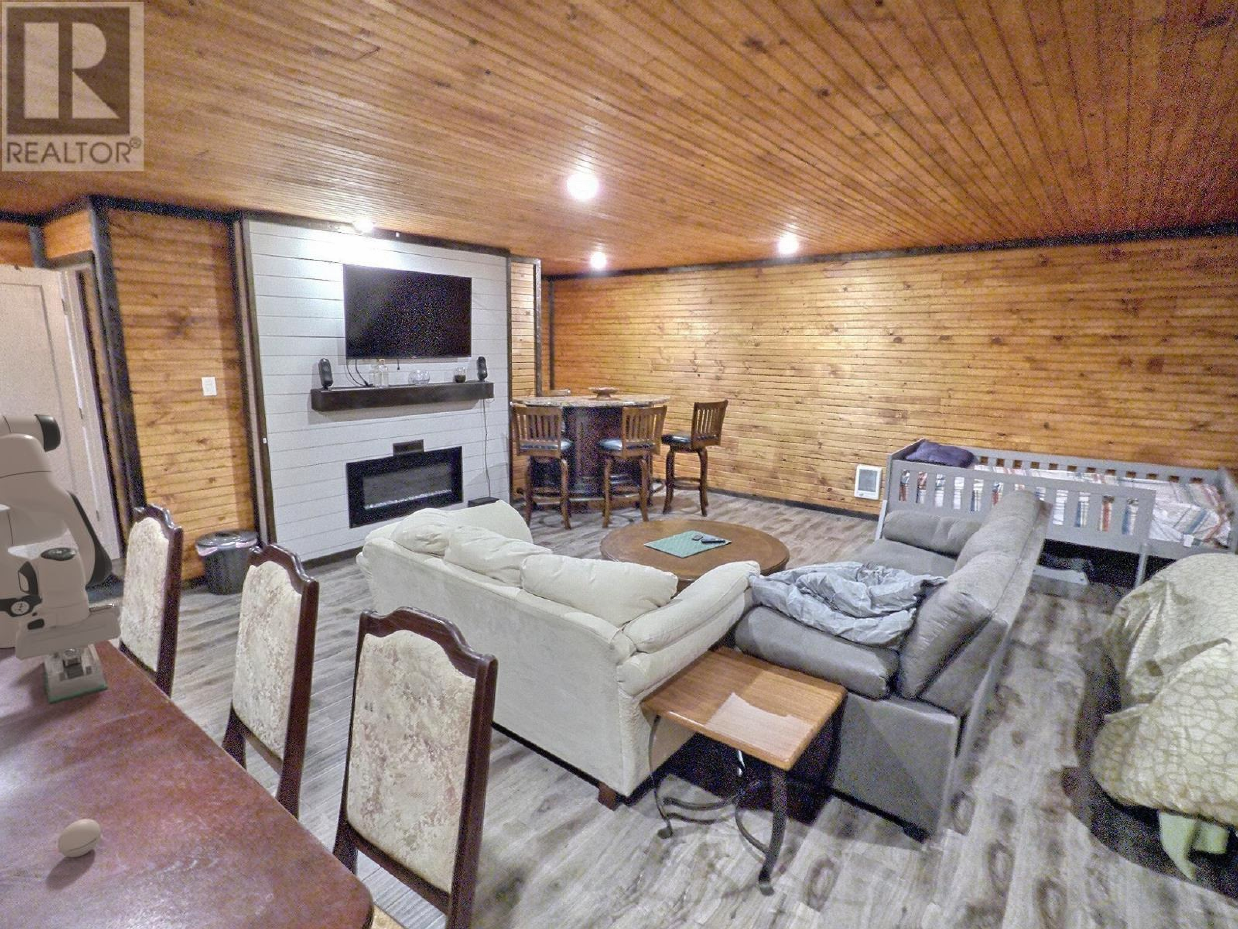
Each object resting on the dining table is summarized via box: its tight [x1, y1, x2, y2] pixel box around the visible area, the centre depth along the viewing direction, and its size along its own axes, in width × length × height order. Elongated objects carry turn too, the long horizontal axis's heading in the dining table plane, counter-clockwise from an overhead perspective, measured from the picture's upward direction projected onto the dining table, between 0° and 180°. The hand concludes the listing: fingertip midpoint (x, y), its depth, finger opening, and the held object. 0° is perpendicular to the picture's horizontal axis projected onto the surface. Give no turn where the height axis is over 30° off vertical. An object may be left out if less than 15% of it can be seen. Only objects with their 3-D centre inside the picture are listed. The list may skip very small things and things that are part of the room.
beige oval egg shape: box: [57, 818, 117, 858], centre depth 107 cm, size 8×6×6 cm
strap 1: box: [65, 647, 77, 657], centre depth 165 cm, size 8×3×1 cm, turn 45°
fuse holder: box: [42, 643, 108, 705], centre depth 162 cm, size 21×11×7 cm, turn 45°
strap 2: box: [65, 663, 84, 678], centre depth 159 cm, size 8×3×1 cm, turn 45°
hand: (72, 663), depth 160 cm, fingers closed, pressing on strap 2
